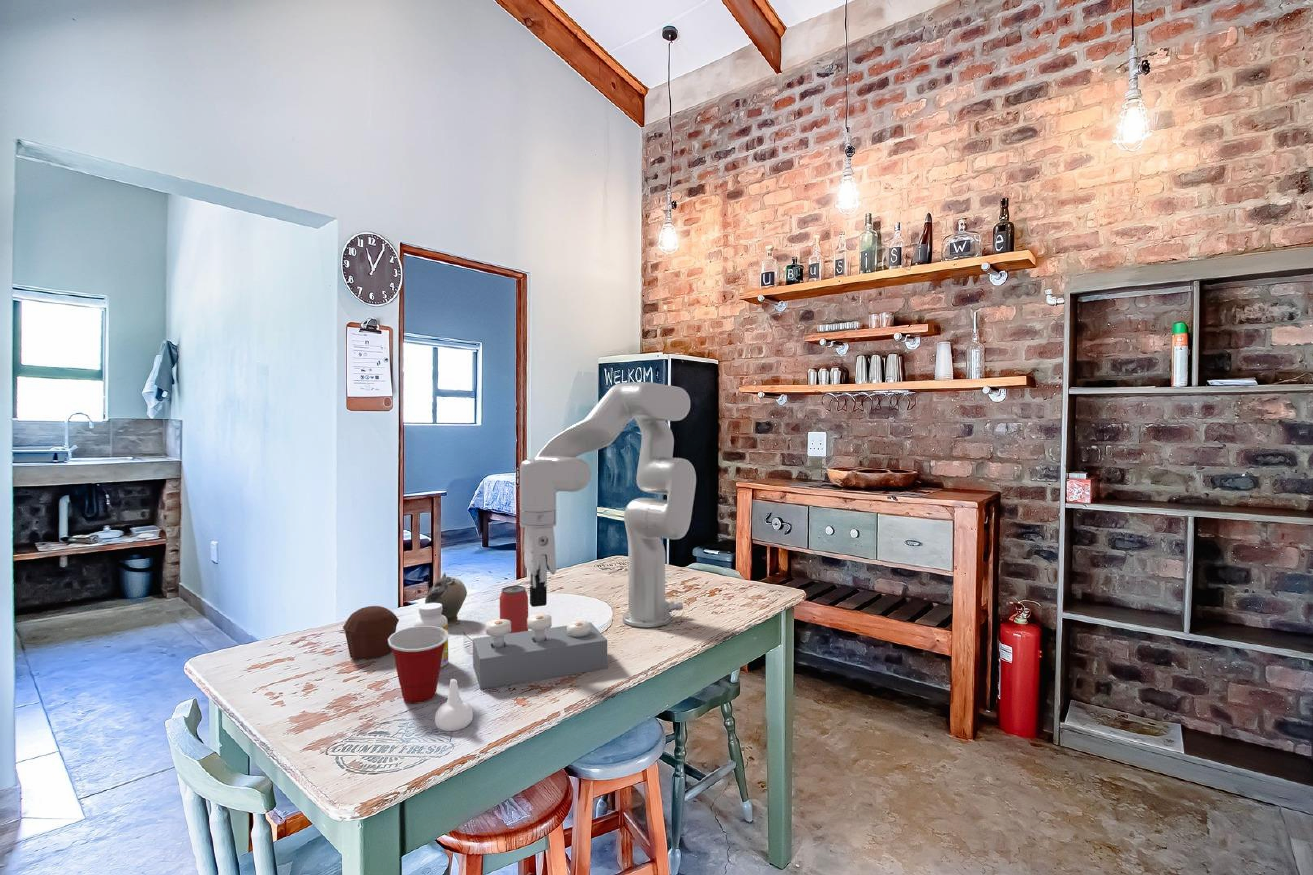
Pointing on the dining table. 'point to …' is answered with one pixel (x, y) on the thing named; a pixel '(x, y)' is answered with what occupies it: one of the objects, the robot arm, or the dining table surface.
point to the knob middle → (539, 625)
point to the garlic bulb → (453, 711)
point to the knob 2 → (578, 628)
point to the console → (537, 656)
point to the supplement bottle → (434, 623)
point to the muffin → (370, 632)
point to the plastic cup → (418, 660)
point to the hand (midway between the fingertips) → (538, 604)
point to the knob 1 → (498, 631)
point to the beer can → (514, 607)
